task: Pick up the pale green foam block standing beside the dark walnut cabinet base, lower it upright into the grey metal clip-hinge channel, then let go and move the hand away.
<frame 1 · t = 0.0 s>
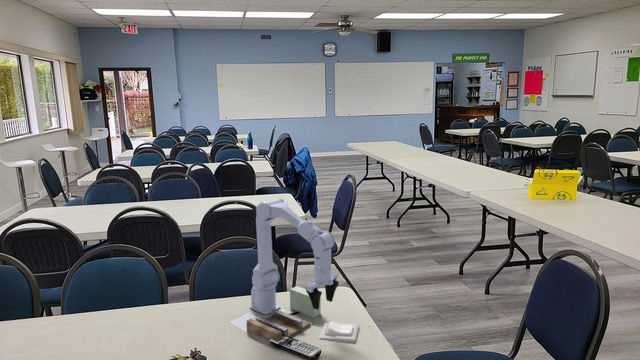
hand: (322, 304, 156), 10 cm above the table, tool pointing down, fingers open, 7 cm apart
pale green foam block: (305, 311, 173), on the table
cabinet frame: (279, 328, 160), on the table
light switch: (339, 335, 157), on the table
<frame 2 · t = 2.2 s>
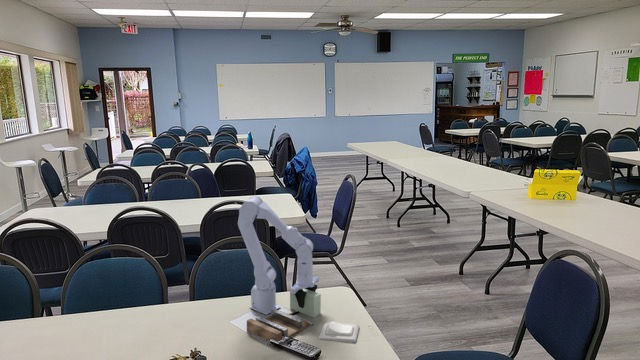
hand: (305, 305, 173), 2 cm above the table, tool pointing down, fingers closed on pale green foam block, 4 cm apart
pale green foam block: (305, 310, 173), on the table, touching gripper
everything else where it was.
when the fingers open (4 cm above the table, at t = 5.9 s): pale green foam block stays where it is, resting on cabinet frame.
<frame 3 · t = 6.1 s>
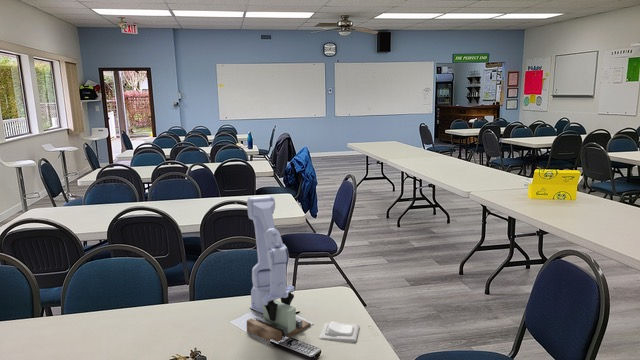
hand: (278, 316, 159), 4 cm above the table, tool pointing down, fingers open, 6 cm apart
pale green foam block: (279, 325, 160), point 1 cm above the table, touching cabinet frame
everything else where it was.
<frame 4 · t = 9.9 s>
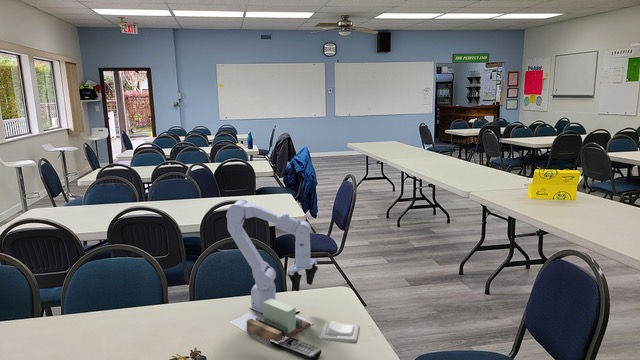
hand: (303, 287, 172), 9 cm above the table, tool pointing down, fingers open, 7 cm apart
nothing on the table moved.
at the end: pale green foam block 0.2 cm off-centre on the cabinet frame, point 1.0 cm above the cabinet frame's base; pale green foam block tilted 0°; the gripper is holding nothing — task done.
